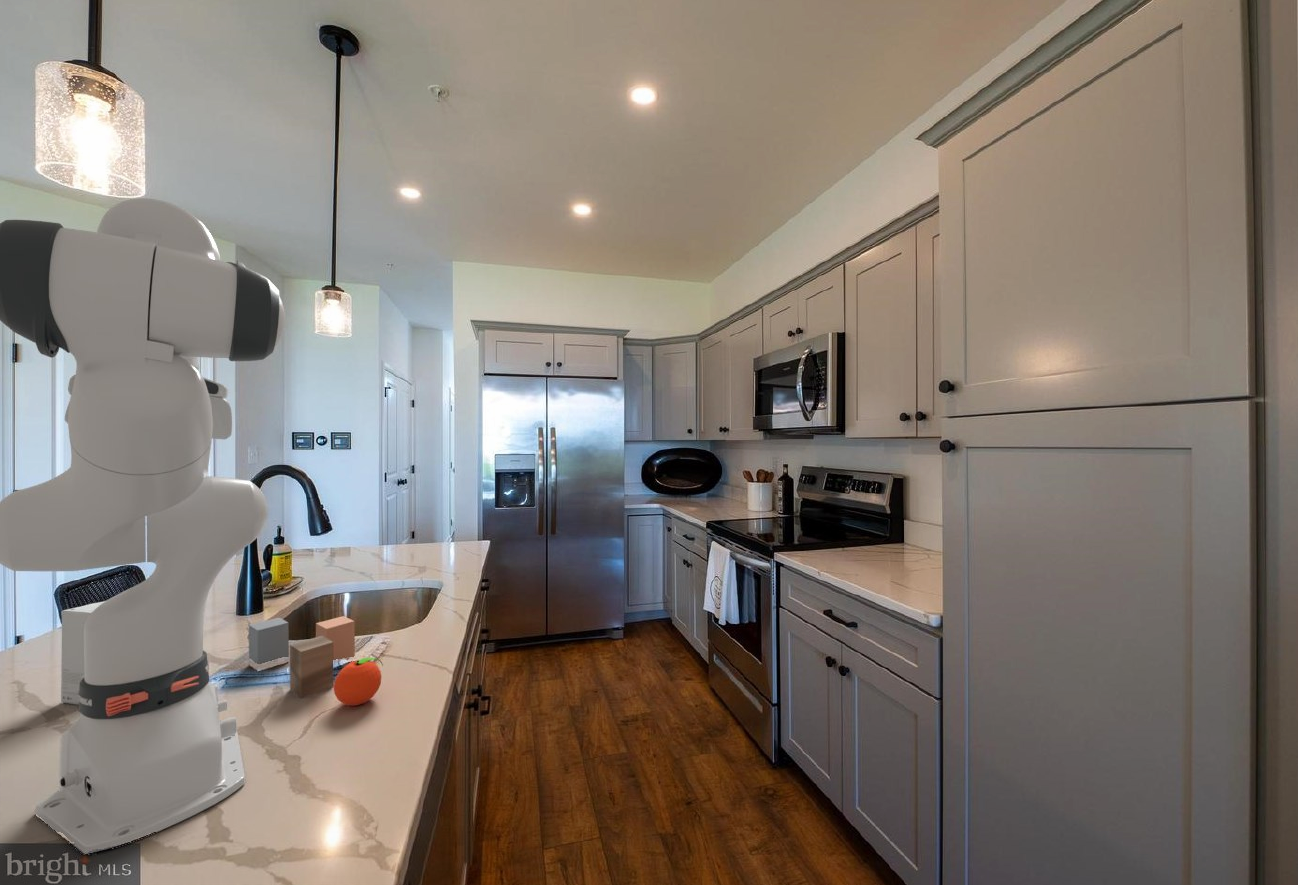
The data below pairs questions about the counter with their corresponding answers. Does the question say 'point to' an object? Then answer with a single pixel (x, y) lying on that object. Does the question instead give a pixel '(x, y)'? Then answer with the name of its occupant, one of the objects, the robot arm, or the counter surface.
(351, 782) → the counter surface
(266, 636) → the slate-grey block
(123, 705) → the robot arm
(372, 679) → the clementine
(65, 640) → the skincare box
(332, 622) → the terracotta block
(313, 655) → the walnut block
